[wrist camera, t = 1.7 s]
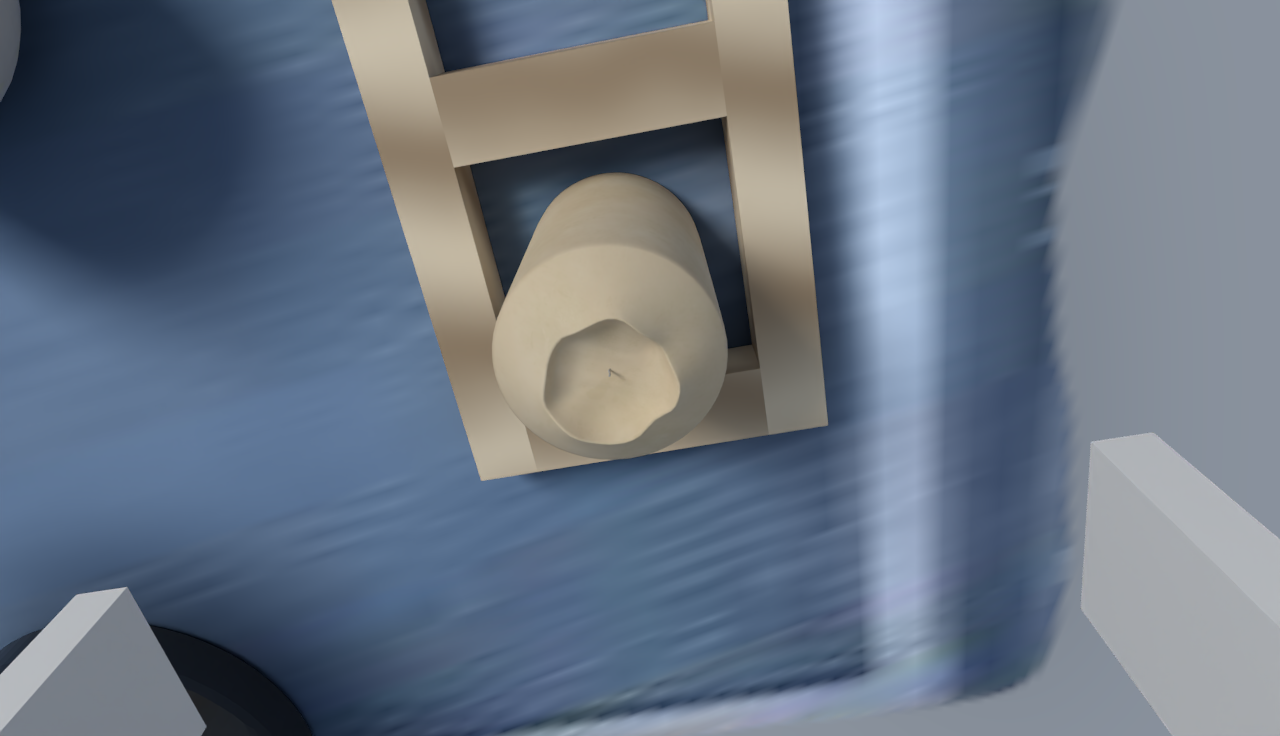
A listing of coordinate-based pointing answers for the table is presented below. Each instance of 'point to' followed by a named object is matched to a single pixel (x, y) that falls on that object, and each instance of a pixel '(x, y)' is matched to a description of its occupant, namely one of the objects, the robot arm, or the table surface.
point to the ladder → (580, 113)
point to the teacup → (9, 41)
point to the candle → (611, 322)
